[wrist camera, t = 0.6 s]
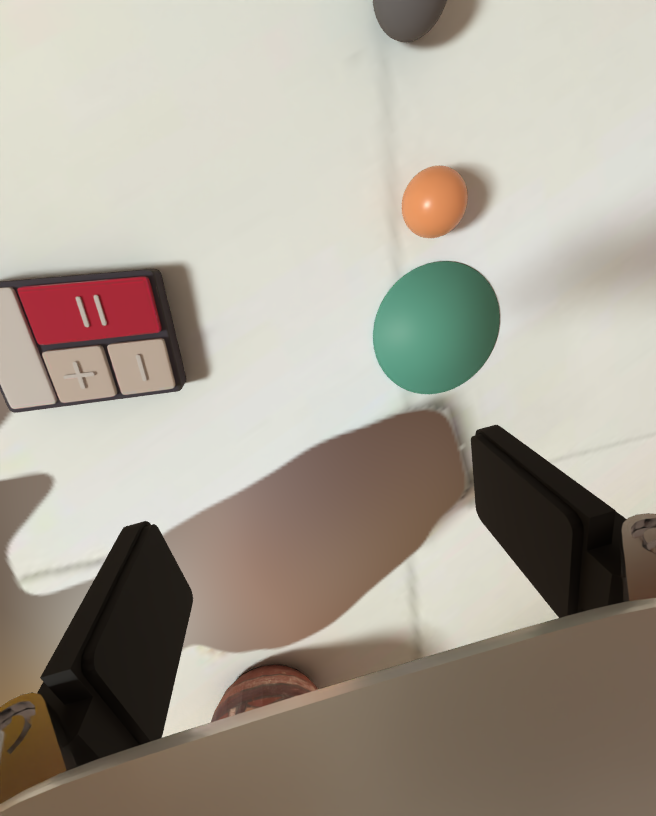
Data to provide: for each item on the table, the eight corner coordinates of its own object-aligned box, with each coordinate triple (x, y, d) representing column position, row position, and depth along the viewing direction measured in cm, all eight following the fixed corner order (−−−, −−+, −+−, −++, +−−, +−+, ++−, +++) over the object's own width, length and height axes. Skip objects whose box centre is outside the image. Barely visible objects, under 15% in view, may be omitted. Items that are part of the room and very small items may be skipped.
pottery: (264, 739, 61) (262, 916, 44) (186, 696, 54) (150, 885, 38) (347, 684, 59) (379, 847, 42) (277, 632, 52) (281, 802, 36)
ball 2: (389, 181, 33) (410, 167, 28) (446, 167, 33) (477, 150, 28) (398, 246, 35) (419, 243, 30) (452, 232, 35) (482, 227, 30)
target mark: (361, 281, 36) (361, 281, 36) (495, 245, 36) (496, 245, 36) (385, 407, 41) (385, 408, 41) (501, 374, 42) (502, 375, 42)
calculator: (181, 393, 34) (4, 417, 32) (188, 380, 38) (31, 400, 36) (150, 269, 30) (-56, 286, 28) (162, 268, 34) (-18, 283, 32)
